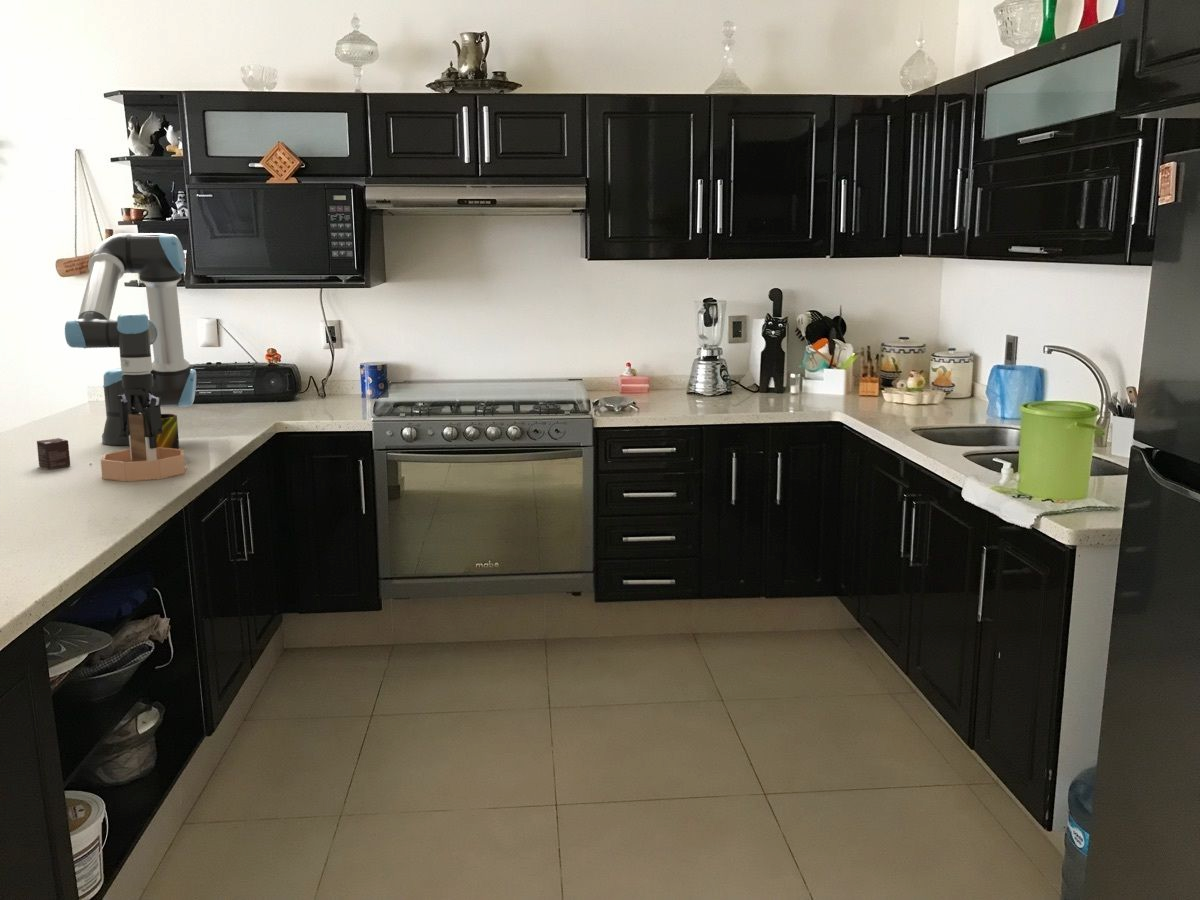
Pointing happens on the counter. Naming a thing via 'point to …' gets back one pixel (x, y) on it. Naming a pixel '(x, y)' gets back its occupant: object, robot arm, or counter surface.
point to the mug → (168, 432)
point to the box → (53, 453)
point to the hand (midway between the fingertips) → (143, 459)
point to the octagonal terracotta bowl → (143, 465)
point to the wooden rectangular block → (137, 437)
